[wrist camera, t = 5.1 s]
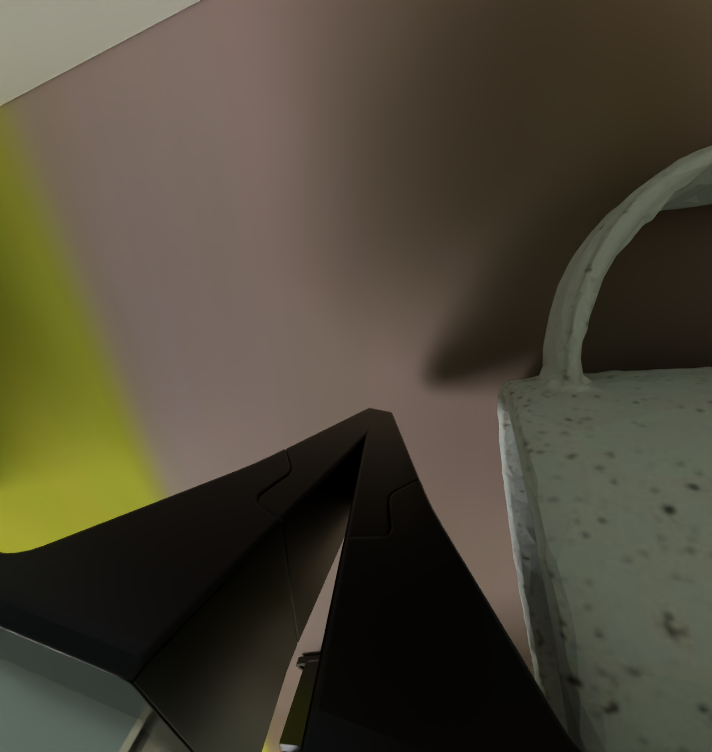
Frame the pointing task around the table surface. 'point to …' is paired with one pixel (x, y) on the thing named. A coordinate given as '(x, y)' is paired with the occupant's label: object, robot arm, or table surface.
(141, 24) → the panel
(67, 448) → the table surface
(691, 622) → the ceramic mug
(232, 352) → the table surface
